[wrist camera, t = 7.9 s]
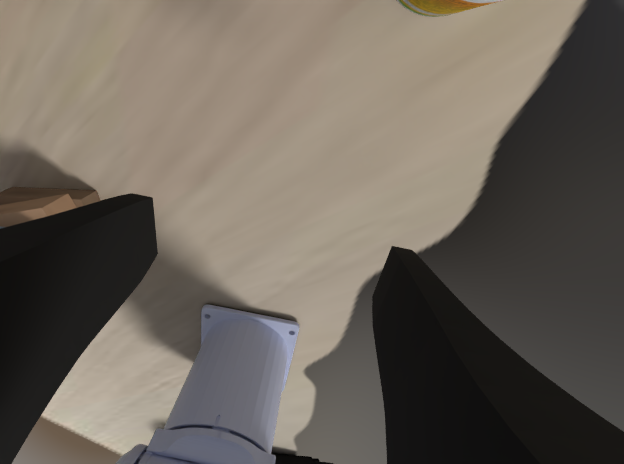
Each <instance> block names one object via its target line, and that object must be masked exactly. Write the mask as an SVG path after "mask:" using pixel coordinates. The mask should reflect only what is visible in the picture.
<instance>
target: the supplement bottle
mask: <svg viewBox="0 0 624 464" xmlns="http://www.w3.org/2000/svg"><path fill="white" fill-rule="evenodd" d="M397 1H398V2H399V3H400V4H401V5H402V6H403V7H404V8H406V9H408V10H409V11H411V12H413V13H416V14H418V15H422V16H429V17H438V16H446V15H451V14H454V13H458V12H461V11H465V10H469V9H473V8H476V7H480V6H484V5H488V4H491V3H495V2H499V1H504V0H397Z"/></svg>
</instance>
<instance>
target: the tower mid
mask: <svg viewBox="0 0 624 464" xmlns="http://www.w3.org/2000/svg"><path fill="white" fill-rule="evenodd" d="M74 208H77V207H76V205H75V204H74V202H73V200H72V199H71V197H70V196H69V194H62V195H56V196H50V197H45V198H39V199H33V200H27V201H21V202H15V203H10V204H4V205H0V226H1V227H8V226H12V225H16V224H20V223H24V222H27V221H31V220H35V219H39V218H43V217H46V216H50V215H54V214H57V213H61V212H64V211H67V210H71V209H74Z"/></svg>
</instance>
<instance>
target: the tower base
mask: <svg viewBox="0 0 624 464" xmlns="http://www.w3.org/2000/svg"><path fill="white" fill-rule="evenodd" d="M62 194H69V196H70V197H71V199H72V200H73V202H74V204H75V205H76V207H77V208H78V207H81V206H85V205H88V204H91V203H95V202H98V201H100V198H99V196H98V193H97V190H73V189H49V188H25V187H11V188H9V189H7V190H4V191H2V192H0V205H4V204H10V203H15V202H21V201H27V200H33V199H39V198H45V197H50V196H56V195H62Z"/></svg>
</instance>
